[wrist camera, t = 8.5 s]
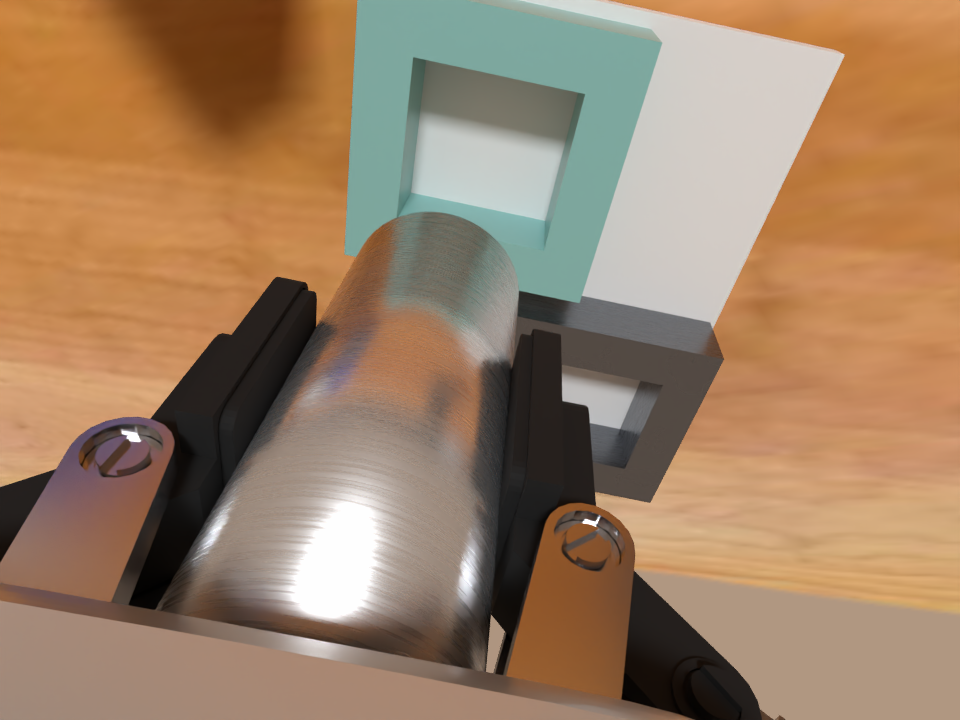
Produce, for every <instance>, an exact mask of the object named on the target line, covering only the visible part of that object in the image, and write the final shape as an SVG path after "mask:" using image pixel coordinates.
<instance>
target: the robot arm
mask: <svg viewBox="0 0 960 720" xmlns="http://www.w3.org/2000/svg"><path fill="white" fill-rule="evenodd" d="M316 305H317V296H316V293H315V292H313V291H308V286H307V284H306V282H301V281H296V280H291V279H286V278H281V277H276V278H275V279H274V280H273V281H272V282H271V284H270V285H269V286H268V288H267V289H266V290H265V292H264V293H263V294H262V296H261V297H260V298H259V299H258V301H257V302H256V303H255V305H254V306H253V307H252V309H251V310H250V311H249V313H248V314H247V315H246V317H245V318H244V319H243V321H242V322H241V323H240V325H239V326H238V327H237V328H236V330H235V331H234V332H233V334H232V335H229V334H224V333H222V334H219V335H217V336H216V337H215V338H214V339H213V341H212V342H211V343H210V344H209V346H208V347H207V348H206V349H205V351H204V352H203V353H202V354H201V356H200V357H199V358H198V359H197V361H196V362H195V363H194V365H193V366H192V367H191V368H190V370H189V371H188V372H187V373H186V375H185V376H184V377H183V378H182V380H181V381H180V382H179V383H178V385H177V386H176V387H175V388H174V390H173V391H172V392H171V393H170V395H169V396H168V397H167V399H166V400H165V401H164V402H163V404H162V405H161V406H160V407H159V409H158V410H157V411H156V412H155V414H154V415H153V416H152V417H151V419H147V418H142V417H123V418H118V419H114V420H109V421H105V422H103V423H101V424H98V425H96V426H94V427H91V428H90V429H88V430H87V431H85V432H84V433H83V434H81V435H80V436H78V438H77V439H76V440H75V441H74V442H73V443H72V445H71V446H70V447H69V449H68V450H67V452H66V454H65V455H64V457H63V459H62V460H61V462H60V464H59V465H58V467H57V469H55V470H52V471H49V472H46V473H43V474H40V475H36V476H33V477H30V478H27V479H24V480H21V481H18V482H15V483H12V484H9V485H6V486H3V487H0V720H773V719H772V718H770V717H769V716H768V715H766V714H765V713H764V712H762V711H761V710H760V708H759V705H758V701H757V699H756V697H755V695H754V693H753V692H752V690H751V688H750V686H749V684H748V683H747V682H746V681H745V680H744V678H743V677H742V676H741V675H740V674H739V673H738V671H737V670H736V669H735V668H734V667H733V666H732V665H731V664H730V663H729V662H728V661H727V660H726V659H724V658H723V657H722V656H721V655H720V654H719V653H718V652H717V651H716V650H715V649H714V648H713V647H712V646H711V645H710V644H709V643H708V642H707V641H706V640H705V639H704V638H703V637H702V636H701V635H700V634H699V633H697V631H696V630H695V629H693V628H692V627H691V626H690V625H689V624H688V623H687V622H686V621H685V620H684V619H683V618H682V617H681V616H680V615H679V614H678V613H677V612H676V611H675V610H674V609H673V608H672V607H671V606H670V605H669V604H668V603H667V602H666V601H664V600H663V598H661V597H660V596H659V595H658V594H657V593H656V592H655V591H654V590H653V589H652V588H651V587H650V586H649V585H648V584H647V583H646V582H645V581H644V580H643V579H642V578H641V577H640V576H639V575H638V574H637V573H636V572H635V571H634V563H635V548H634V542H633V540H632V538H631V535H630V533H629V531H628V530H627V529H626V528H625V526H624V525H623V524H622V523H621V521H620V520H618V519H617V518H616V517H614V516H613V515H612V514H610V513H609V512H607V511H605V510H603V509H601V508H599V507H597V506H596V501H595V487H594V473H593V460H592V446H591V432H590V418H589V410H588V407H587V406H586V405H581V404H576V403H571V402H566V401H562V356H561V334H558V333H553V332H548V331H543V330H539V329H533V330H532V333H531V335H526V334H521V336H520V339H519V342H518V346H517V350H516V354H515V358H514V362H513V365H512V370H511V381H510V392H509V403H508V414H507V425H506V436H505V447H504V458H503V470H502V481H501V492H500V503H499V514H498V539H497V550H496V561H495V573H494V584H493V595H492V607H491V615H492V616H493V617H494V618H495V620H496V621H497V622H498V623H499V625H500V626H501V627H502V628H503V629H504V631H505V633H504V637H503V640H502V644H501V647H500V651H499V654H498V658H497V662H496V665H495V669H494V673H487V672H482V671H477V670H472V669H467V668H461V667H456V666H451V665H446V664H440V663H435V662H430V661H425V660H420V659H414V658H409V657H404V656H399V655H394V654H388V653H383V652H378V651H372V650H367V649H362V648H356V647H351V646H346V645H340V644H335V643H330V642H324V641H319V640H314V639H308V638H303V637H298V636H292V635H287V634H282V633H276V632H271V631H265V630H260V629H255V628H249V627H244V626H238V625H233V624H228V623H222V622H217V621H211V620H206V619H201V618H195V617H190V616H184V615H179V614H173V613H168V612H162V611H157V610H155V609H156V608H157V606H158V604H159V602H160V601H161V599H162V597H163V595H164V594H165V592H166V590H167V588H168V586H169V585H170V583H171V581H172V579H173V578H174V576H175V574H176V572H177V571H178V569H179V567H180V565H181V564H182V562H183V560H184V558H185V557H186V555H187V553H188V551H189V550H190V548H191V546H192V544H193V543H194V541H195V539H196V537H197V536H198V534H199V532H200V530H201V529H202V527H203V525H204V523H205V522H206V520H207V518H208V516H209V515H210V513H211V511H212V509H213V508H214V506H215V504H216V502H217V500H218V499H219V497H220V495H221V493H222V492H223V490H224V488H225V486H226V485H227V483H228V481H229V479H230V478H231V476H232V474H233V472H234V471H235V469H236V467H237V465H238V464H239V462H240V460H241V458H242V457H243V455H244V453H245V451H246V450H247V448H248V446H249V444H250V443H251V441H252V439H253V437H254V436H255V434H256V432H257V430H258V429H259V427H260V425H261V423H262V422H263V420H264V418H265V416H266V414H267V413H268V411H269V409H270V407H271V406H272V404H273V402H274V400H275V399H276V397H277V395H278V393H279V392H280V390H281V388H282V386H283V385H284V383H285V381H286V379H287V378H288V376H289V374H290V372H291V371H292V369H293V367H294V365H295V364H296V362H297V360H298V358H299V357H300V355H301V353H302V351H303V350H304V348H305V346H306V344H307V343H308V341H309V339H310V337H311V335H312V334H313V332H314V330H315V328H316ZM775 720H785V719H784V718H783V717H781V716H778V717H777V718H776V719H775Z"/></svg>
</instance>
